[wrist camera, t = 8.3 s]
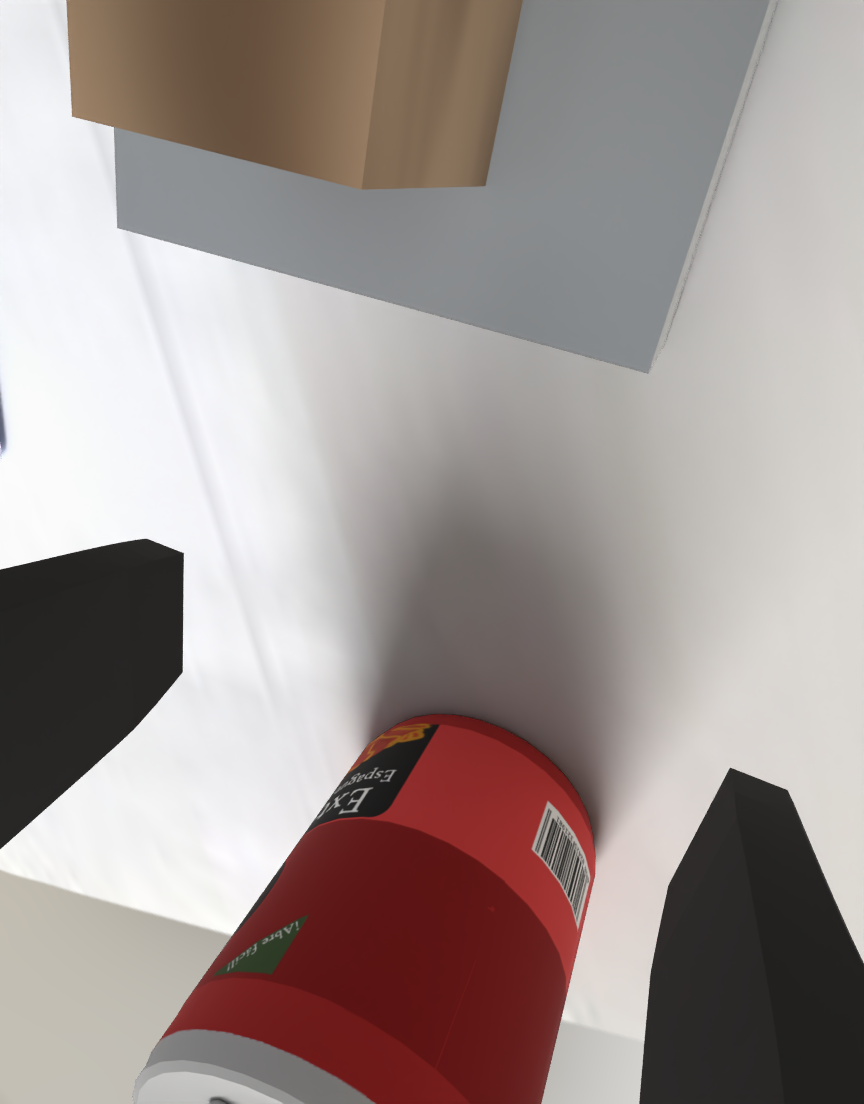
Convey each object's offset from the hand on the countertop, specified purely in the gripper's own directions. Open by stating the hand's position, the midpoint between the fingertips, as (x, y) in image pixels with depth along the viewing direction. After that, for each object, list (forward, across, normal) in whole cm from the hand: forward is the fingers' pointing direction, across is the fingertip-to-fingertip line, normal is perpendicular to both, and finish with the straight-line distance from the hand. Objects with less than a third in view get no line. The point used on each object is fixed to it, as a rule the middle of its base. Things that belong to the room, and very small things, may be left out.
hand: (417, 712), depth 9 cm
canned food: (+10, 0, +12) cm, 16 cm away
